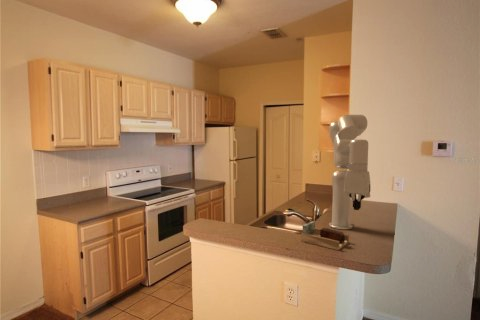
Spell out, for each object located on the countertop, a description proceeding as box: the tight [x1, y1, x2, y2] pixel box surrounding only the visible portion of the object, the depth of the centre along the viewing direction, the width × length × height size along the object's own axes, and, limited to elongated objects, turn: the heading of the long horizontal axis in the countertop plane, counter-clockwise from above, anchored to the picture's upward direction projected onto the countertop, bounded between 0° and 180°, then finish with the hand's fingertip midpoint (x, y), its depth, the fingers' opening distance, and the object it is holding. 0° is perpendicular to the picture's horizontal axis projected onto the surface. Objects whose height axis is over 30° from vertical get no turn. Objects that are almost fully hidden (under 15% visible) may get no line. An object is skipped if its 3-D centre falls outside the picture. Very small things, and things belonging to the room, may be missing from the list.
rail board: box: [300, 220, 350, 251], centre depth 138 cm, size 13×18×7 cm
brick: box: [320, 227, 345, 243], centre depth 136 cm, size 11×4×5 cm, turn 47°
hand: (356, 209), depth 128 cm, fingers closed
